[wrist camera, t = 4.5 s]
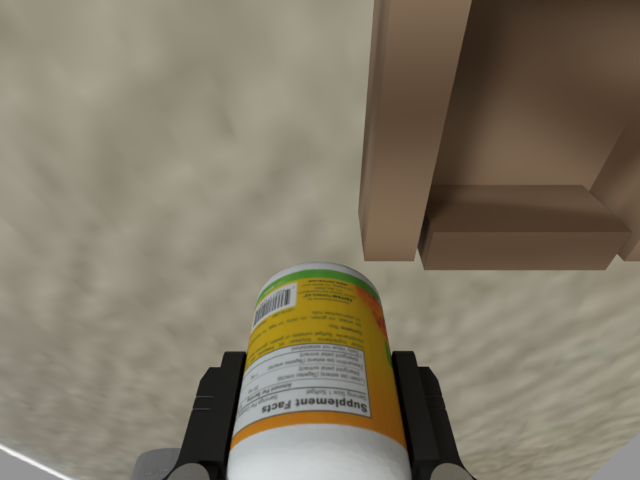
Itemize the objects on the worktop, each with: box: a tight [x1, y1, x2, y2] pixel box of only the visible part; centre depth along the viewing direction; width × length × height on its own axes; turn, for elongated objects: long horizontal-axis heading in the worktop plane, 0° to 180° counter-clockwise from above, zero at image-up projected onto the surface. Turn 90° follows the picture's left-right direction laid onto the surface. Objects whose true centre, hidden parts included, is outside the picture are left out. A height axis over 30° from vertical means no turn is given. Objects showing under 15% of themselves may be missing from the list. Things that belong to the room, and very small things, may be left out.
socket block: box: [358, 0, 640, 270], centre depth 11 cm, size 11×11×3 cm
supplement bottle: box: [226, 262, 411, 480], centre depth 12 cm, size 5×5×10 cm
